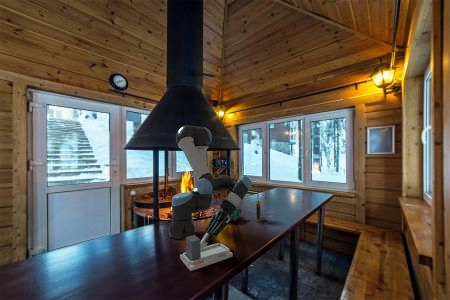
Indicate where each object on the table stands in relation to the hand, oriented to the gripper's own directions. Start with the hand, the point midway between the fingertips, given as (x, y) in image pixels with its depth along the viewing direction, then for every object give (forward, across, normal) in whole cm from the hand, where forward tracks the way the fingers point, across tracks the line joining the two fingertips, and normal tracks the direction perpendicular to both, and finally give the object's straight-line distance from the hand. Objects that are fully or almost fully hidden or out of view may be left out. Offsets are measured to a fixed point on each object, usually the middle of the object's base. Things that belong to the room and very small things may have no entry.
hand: (200, 247), depth 86 cm
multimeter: (-37, +22, -45) cm, 63 cm away
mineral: (-26, +38, -34) cm, 57 cm away
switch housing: (+1, 0, -6) cm, 6 cm away
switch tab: (+5, 0, 0) cm, 5 cm away
